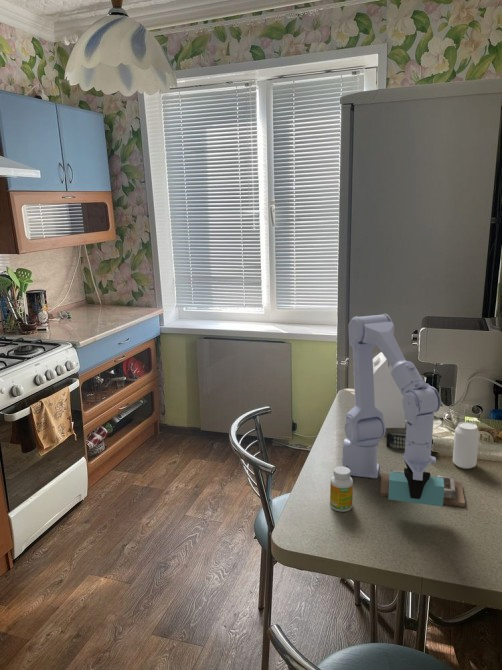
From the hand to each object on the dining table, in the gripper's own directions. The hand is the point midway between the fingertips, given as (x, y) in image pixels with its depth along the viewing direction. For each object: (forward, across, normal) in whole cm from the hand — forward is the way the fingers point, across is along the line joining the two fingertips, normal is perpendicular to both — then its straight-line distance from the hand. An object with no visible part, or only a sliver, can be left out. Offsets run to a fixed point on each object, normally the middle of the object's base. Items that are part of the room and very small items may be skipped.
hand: (415, 492), depth 121 cm
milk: (+7, +55, +9) cm, 56 cm away
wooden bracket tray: (+6, +12, -2) cm, 14 cm away
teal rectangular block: (+2, 0, 0) cm, 2 cm away
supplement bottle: (+6, 0, +17) cm, 18 cm away
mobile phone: (+7, +35, 0) cm, 36 cm away
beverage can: (+6, +29, -14) cm, 33 cm away
